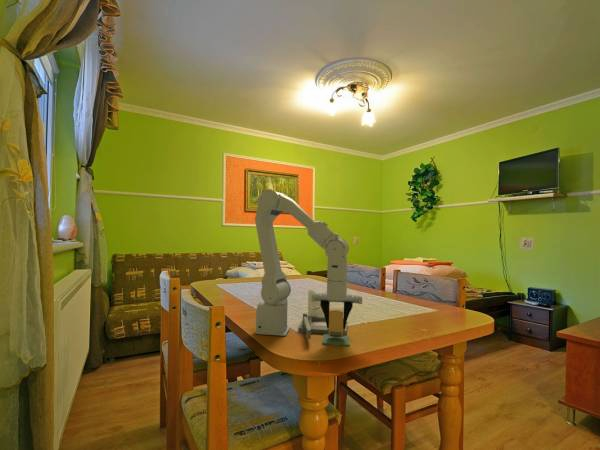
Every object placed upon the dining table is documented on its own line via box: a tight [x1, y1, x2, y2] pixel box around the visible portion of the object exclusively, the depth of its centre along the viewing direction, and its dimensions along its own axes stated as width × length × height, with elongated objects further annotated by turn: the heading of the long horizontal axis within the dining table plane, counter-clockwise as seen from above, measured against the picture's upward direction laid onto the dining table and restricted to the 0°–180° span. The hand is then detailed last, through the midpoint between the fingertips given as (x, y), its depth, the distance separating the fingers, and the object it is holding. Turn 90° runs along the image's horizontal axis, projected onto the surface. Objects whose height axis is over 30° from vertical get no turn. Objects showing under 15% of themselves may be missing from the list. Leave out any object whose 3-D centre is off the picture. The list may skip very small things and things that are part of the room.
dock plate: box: [297, 315, 348, 336], centre depth 96 cm, size 15×14×1 cm
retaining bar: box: [302, 313, 312, 340], centre depth 88 cm, size 15×1×3 cm, turn 3°
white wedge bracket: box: [307, 290, 325, 317], centre depth 107 cm, size 4×10×9 cm
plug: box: [327, 307, 346, 337], centre depth 84 cm, size 5×5×7 cm
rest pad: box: [321, 334, 351, 347], centre depth 84 cm, size 8×7×1 cm
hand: (336, 327), depth 84 cm, fingers closed on plug, 4 cm apart
